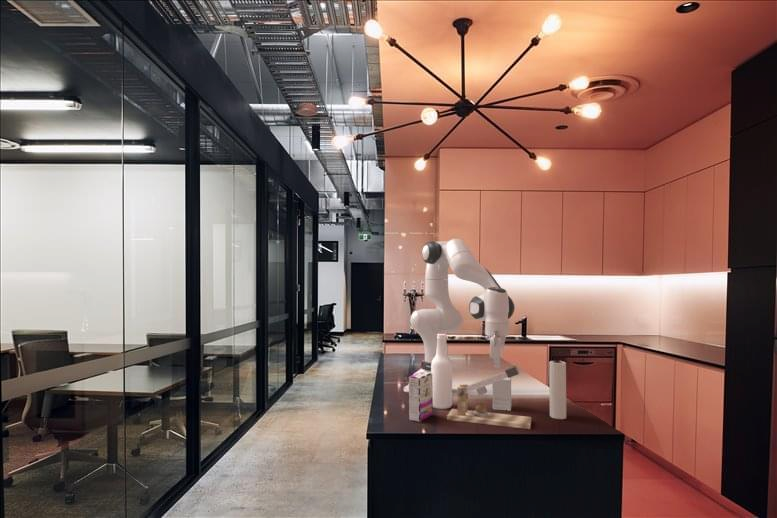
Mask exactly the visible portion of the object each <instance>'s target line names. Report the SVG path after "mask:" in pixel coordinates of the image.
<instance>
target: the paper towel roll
mask: <svg viewBox="0 0 777 518" xmlns="http://www.w3.org/2000/svg"><path fill="white" fill-rule="evenodd" d="M548 362H549V363H548V364H549V367H548V368H549V370H548V371H549V376H548V377H549V379H548V381H549V387H548V389H549V417H550V418H551V419H556V420H566V419H567V362H565V361H562V360H550V361H548Z"/></svg>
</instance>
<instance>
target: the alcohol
mask: <svg viewBox="0 0 777 518" xmlns="http://www.w3.org/2000/svg"><path fill="white" fill-rule="evenodd" d="M447 346H448V344H447V333H437V350H436V356H435V357H434V359H433V360H432V363H431V373H432V387H433V409H438V410H447V409H450V408H451V409H452V406H453V362H452V360H451V358H450V357H449V354H448V355H447Z"/></svg>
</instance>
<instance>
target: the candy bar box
mask: <svg viewBox="0 0 777 518" xmlns="http://www.w3.org/2000/svg"><path fill="white" fill-rule="evenodd" d="M408 384H409V392H408V408H409V409H408V419H409V420H408V421H411V422H418V423H420V422H423V421H424V420H426V419H427V418H429V417H431V416H434V413H433V411H434V410H433V409H434V407H433V387H432V373H430V372H420V373H417V374H415V375H413V374H412V375H410V376H408Z"/></svg>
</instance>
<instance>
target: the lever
mask: <svg viewBox="0 0 777 518" xmlns="http://www.w3.org/2000/svg"><path fill="white" fill-rule="evenodd" d="M519 374H520V370H519V368H518V367H517V365H512V366H509V367H507V368H505V371H503V372H500V373H497V374H494V375H492V376H489V377H487V378H484V379H481V380H479V381H476V382H474V383H472V384H467V385H468V386H466V393H468V394H469V393H471V392H473V391H476V392H477V395H478V397H480V396H483V395H485V394H487V393H488V389H487V386H489V385H492V383H495V382H497V381H500V380H503V379H505V378H510V377H511V378H513V377H515V376H517V375H519Z"/></svg>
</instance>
